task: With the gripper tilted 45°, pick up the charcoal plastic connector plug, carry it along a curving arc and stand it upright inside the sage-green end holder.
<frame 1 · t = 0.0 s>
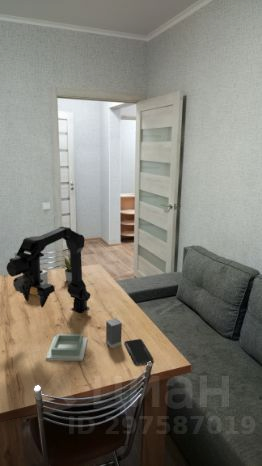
hand: (34, 303, 136), 15 cm above the table, tool pointing down, fingers open, 9 cm apart
end holder: (67, 349, 131), on the table
house plant: (73, 280, 198), on the table
small box: (38, 293, 179), on the table
phone: (138, 353, 131), on the table
connector plug: (113, 343, 136), on the table
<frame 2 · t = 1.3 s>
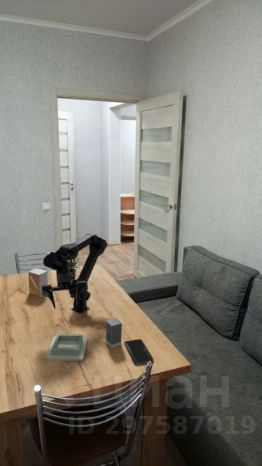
hand: (66, 307, 137), 13 cm above the table, tool tilted 45°, fingers open, 9 cm apart
nothing on the table moved.
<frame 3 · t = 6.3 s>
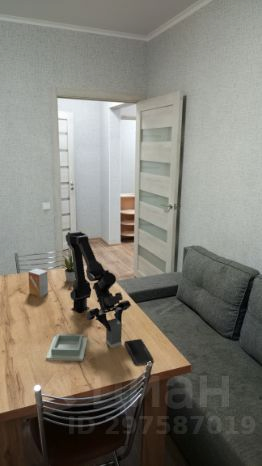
hand: (115, 329, 133), 7 cm above the table, tool tilted 45°, fingers closed on connector plug, 5 cm apart
connector plug: (113, 343, 136), on the table, touching gripper
everything else where it was.
when the fingers open (9 cm above the table, at t = 11.3 s): connector plug drops 1 cm, resting on end holder.
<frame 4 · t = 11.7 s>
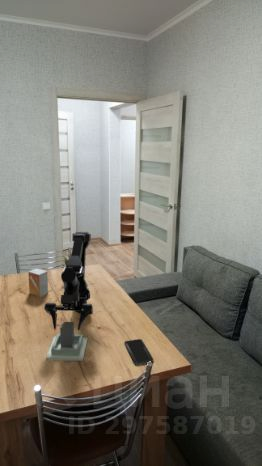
hand: (66, 330, 127), 10 cm above the table, tool tilted 45°, fingers open, 9 cm apart
connector plug: (67, 347, 131), point 1 cm above the table, touching end holder
everything else where it was.
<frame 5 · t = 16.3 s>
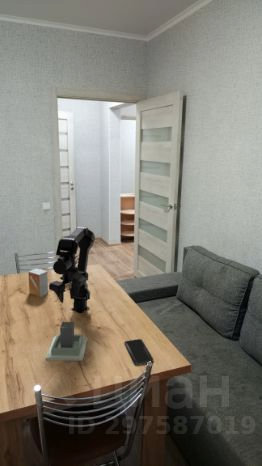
hand: (69, 298, 145), 13 cm above the table, tool pointing down, fingers open, 9 cm apart
nothing on the table moved.
at the end: connector plug 0.0 cm off-centre on the end holder, point 1.0 cm above the end holder's base; connector plug tilted 0°; the gripper is holding nothing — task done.
